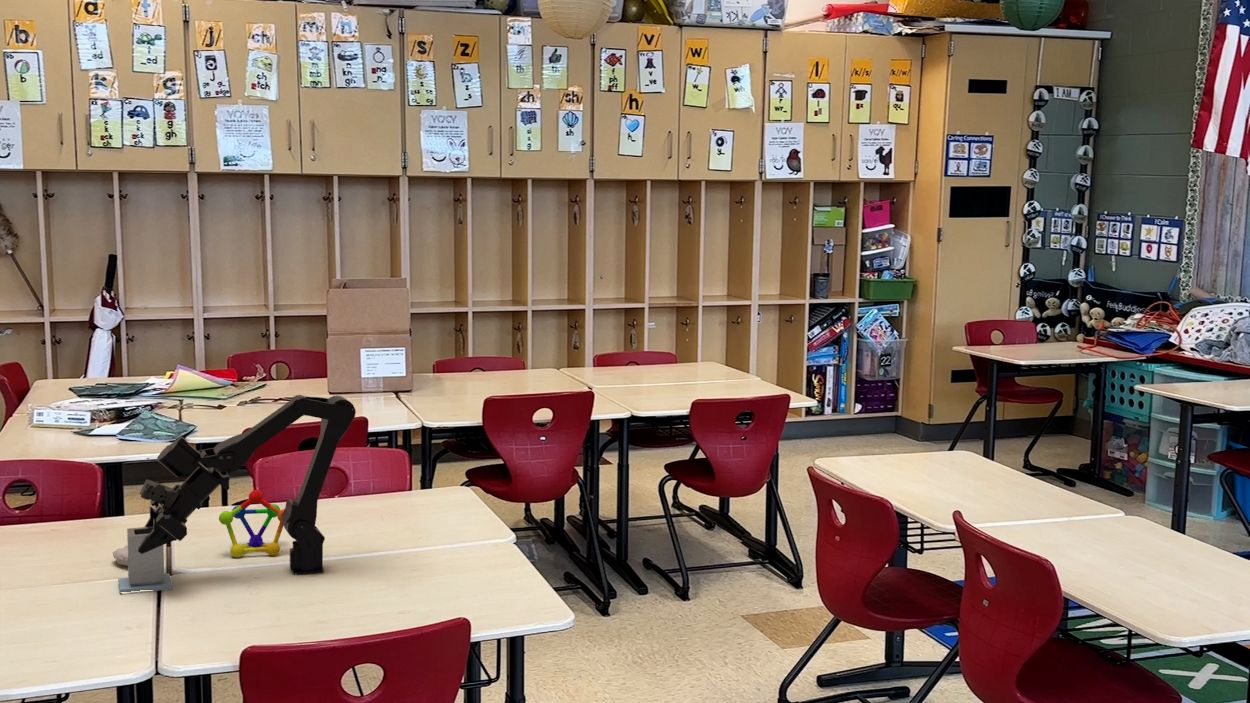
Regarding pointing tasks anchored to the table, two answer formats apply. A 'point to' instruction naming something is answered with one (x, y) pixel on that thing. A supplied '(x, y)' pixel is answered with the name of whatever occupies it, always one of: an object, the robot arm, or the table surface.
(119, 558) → the fossil
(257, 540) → the educational toy
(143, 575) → the open metal box
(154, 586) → the shaft stand
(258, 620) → the table surface
